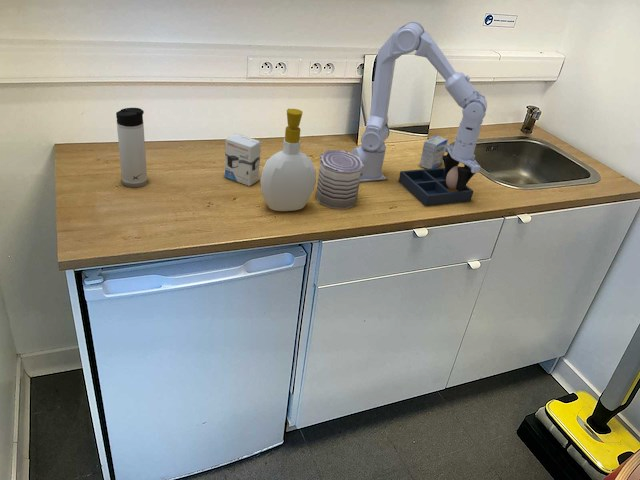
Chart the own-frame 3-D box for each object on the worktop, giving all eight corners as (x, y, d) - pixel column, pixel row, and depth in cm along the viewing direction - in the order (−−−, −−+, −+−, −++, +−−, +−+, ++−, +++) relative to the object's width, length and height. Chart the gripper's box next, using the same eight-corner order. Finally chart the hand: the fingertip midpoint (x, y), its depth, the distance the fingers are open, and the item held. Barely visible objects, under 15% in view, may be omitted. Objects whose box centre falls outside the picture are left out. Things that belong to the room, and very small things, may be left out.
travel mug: (141, 189, 141) (136, 115, 130) (117, 185, 141) (110, 110, 131) (152, 179, 146) (148, 107, 135) (129, 175, 147) (123, 103, 136)
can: (347, 187, 155) (353, 148, 148) (363, 207, 146) (371, 167, 140) (309, 190, 151) (314, 150, 144) (324, 211, 142) (330, 169, 135)
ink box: (223, 177, 152) (224, 138, 145) (234, 171, 155) (235, 132, 149) (249, 186, 149) (251, 146, 142) (259, 180, 152) (261, 141, 146)
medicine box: (431, 171, 171) (437, 145, 166) (418, 166, 173) (424, 140, 168) (442, 164, 176) (448, 139, 172) (430, 159, 178) (436, 134, 174)
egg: (462, 195, 154) (469, 172, 150) (443, 192, 155) (449, 168, 151) (461, 187, 159) (467, 164, 155) (443, 184, 159) (449, 161, 155)
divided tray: (425, 206, 150) (428, 195, 149) (398, 181, 162) (400, 171, 160) (470, 201, 156) (473, 191, 155) (441, 177, 168) (443, 167, 166)
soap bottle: (307, 196, 148) (317, 103, 134) (316, 213, 141) (328, 116, 127) (254, 199, 143) (260, 103, 129) (262, 216, 136) (268, 117, 122)
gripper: (494, 150, 145) (480, 195, 152) (462, 129, 156) (451, 172, 163) (472, 152, 142) (459, 197, 149) (442, 130, 153) (431, 174, 160)
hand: (454, 184), depth 156 cm, fingers closed on egg, 5 cm apart
